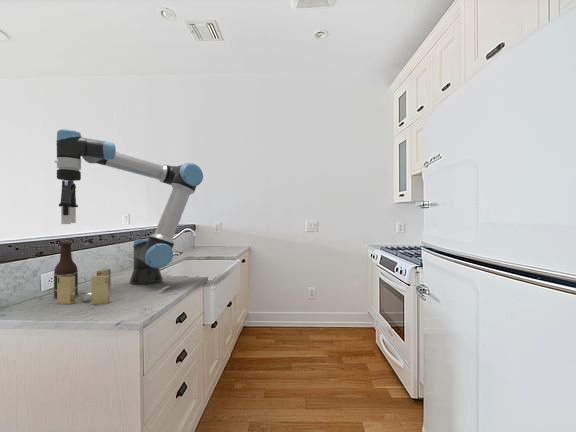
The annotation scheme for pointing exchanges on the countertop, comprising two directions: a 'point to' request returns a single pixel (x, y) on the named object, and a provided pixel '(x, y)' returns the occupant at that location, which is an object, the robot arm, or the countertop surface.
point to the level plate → (86, 296)
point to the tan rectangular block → (65, 289)
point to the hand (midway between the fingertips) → (69, 223)
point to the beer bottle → (65, 266)
